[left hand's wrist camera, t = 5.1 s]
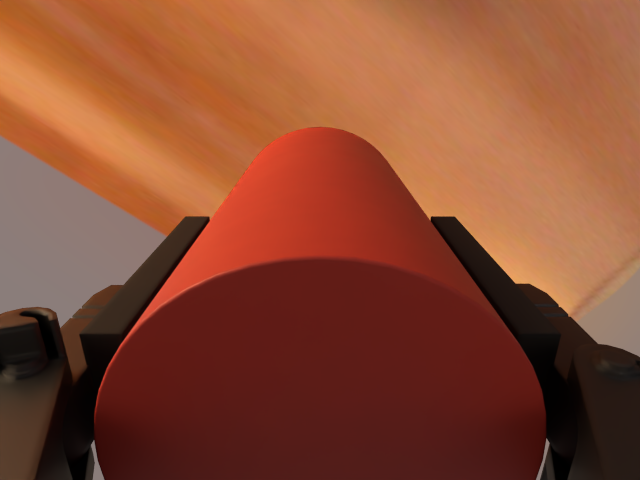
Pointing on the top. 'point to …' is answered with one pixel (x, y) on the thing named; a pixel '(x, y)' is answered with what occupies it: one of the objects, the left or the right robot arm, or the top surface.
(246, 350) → the canister
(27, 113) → the top surface
